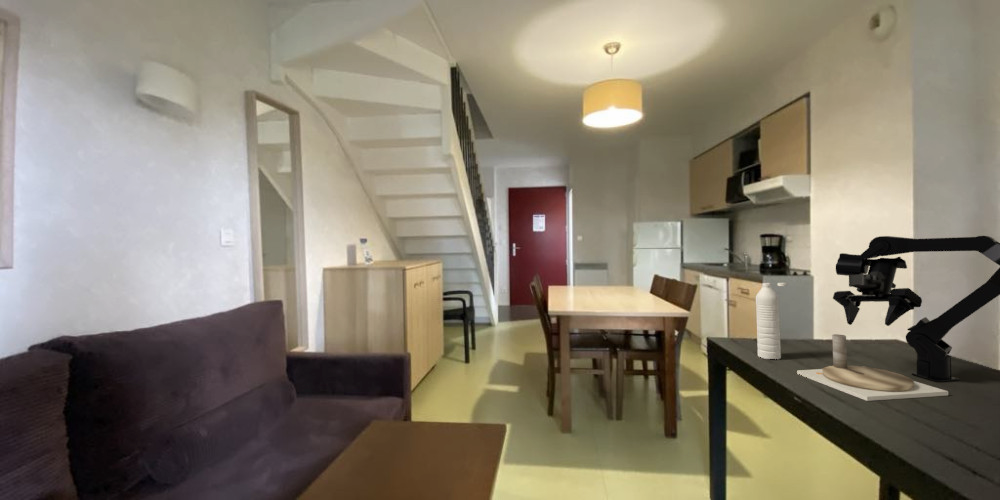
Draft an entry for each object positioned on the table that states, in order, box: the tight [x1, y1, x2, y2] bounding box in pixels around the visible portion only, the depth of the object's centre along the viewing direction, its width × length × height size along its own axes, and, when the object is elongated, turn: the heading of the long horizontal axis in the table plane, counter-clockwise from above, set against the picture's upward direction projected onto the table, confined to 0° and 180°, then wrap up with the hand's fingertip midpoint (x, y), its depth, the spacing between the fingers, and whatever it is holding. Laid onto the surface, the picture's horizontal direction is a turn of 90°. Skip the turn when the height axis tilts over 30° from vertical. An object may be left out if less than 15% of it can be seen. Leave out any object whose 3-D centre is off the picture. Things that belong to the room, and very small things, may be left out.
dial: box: [822, 333, 915, 391], centre depth 108 cm, size 18×18×10 cm
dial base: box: [796, 366, 949, 402], centre depth 108 cm, size 21×21×1 cm
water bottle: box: [755, 282, 788, 360], centre depth 134 cm, size 9×6×25 cm
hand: (867, 324), depth 113 cm, fingers open, 9 cm apart
